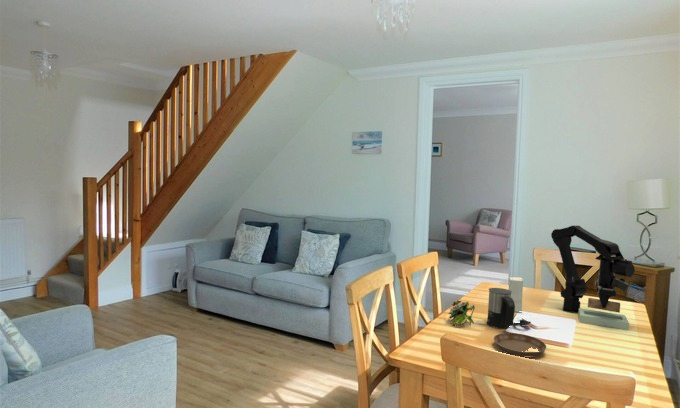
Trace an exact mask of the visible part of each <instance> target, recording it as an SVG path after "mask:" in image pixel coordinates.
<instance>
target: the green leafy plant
mask: <svg viewBox="0 0 680 408" xmlns="http://www.w3.org/2000/svg"><path fill="white" fill-rule="evenodd" d="M469 305H470V303H469V301H467V300H466V301H465V302H464V301H463V302H462V300H457V301H453V304H452V308H450V309H449V312H448V315H449V317H448V319H452V320H451V325H452V326H454V325H455V326H457V325H463V324H464V323H465V322H466V321H469V326H471V324H474V323H475V322H474V320H473V318H472V316H473V313H474V311H475V309H476V307H475V305H474V304H472V305H470V306H469ZM469 311H471V314H470V315H468V312H469Z"/></svg>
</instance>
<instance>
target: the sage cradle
mask: <svg viewBox="0 0 680 408" xmlns="http://www.w3.org/2000/svg"><path fill="white" fill-rule="evenodd" d="M577 315H578V320H579V323H583V324H590V325H596V326H602V327H607V328H608V327H609V328H613V329H621V330H625V331H626V330H627V331H629V327H630V322H629V320H628V319H627V317H626V315H625V314H621V313H620V314H619V313H616V312H607V311H606V312H605V311H602V310H594V309H587V308H581V307H580V308H579V312H578V313H577Z"/></svg>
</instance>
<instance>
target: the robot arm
mask: <svg viewBox="0 0 680 408" xmlns="http://www.w3.org/2000/svg"><path fill="white" fill-rule="evenodd" d="M550 235H551V238H552V241H553V244H554V245H555V246H556V247H557V248H558V250H559V255H560V257H561V262H562V265H563V268H564V272H565V276H566V279H565V281H564V282H565V283H564V286H565V287H564V289H563V290H562V291H560V292H559V293H560V297H561V298H563V303H562V304H563V306H562V311H563V312H570V313H575V314H578V312H579V308H581V301H580V299H583V297H584V296H585V294H586V293H587V288H588V286H587V284H586V280H585V278H581V277H580V276H579V273H578V270H577V267H576V262H575V259H574V256H573V252H572V249H571V244H572V238H573V237H575V236H576V237H577V238H578V239H580V240H581V241H584V242H585V243H587V244H588V245H590V246H592V247H593V248H594V249H595V251H596V252H597V253H598V254H599V255H597V256H596V257H595V260H597V261H598V260H599V269H598V270H599V271H598V278H597V279H596V280H595V281H594V283H595V284H594V285H595V289H596V292H597V295H598V298H599V299H600V301H601V304H602V307H603V308H606V305H607V303H608V301H610V298H612V297H616V296H617V290H616V289H615V288H617V289H620V290H622V291H623V292H627V290H628V288H629V287H630V284H629V283H628V282H626V280H625V278H623V277H626V278H632V277H633V276H634V274H635V270H636V268H635V265H634V264H633V261H632V260H629V259H628V260H627V259H625V258H624V256H623V254H622V252H621V250H620V247H619V245H618V244H617V243H616V242H612V241H609V240H606V239H604V238H603V239H602V238H600V237H598V236H596V235H595V234H593V233H592V232H590V231H588V230H586V229H584V227H582V226H580V225H570V226H566V227H563V228H555V229H553V230H552V232H551V233H550ZM616 275H618V276H620V277H619V278H618V277H616ZM621 276H623V277H621Z"/></svg>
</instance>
